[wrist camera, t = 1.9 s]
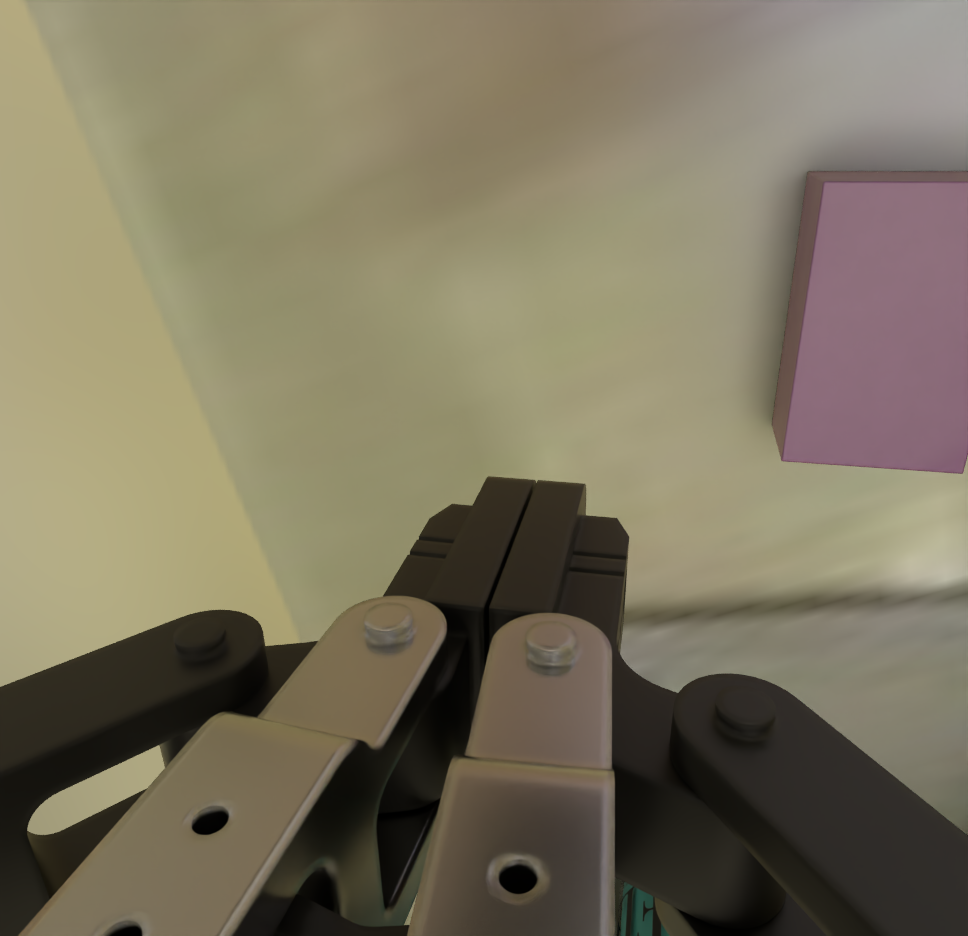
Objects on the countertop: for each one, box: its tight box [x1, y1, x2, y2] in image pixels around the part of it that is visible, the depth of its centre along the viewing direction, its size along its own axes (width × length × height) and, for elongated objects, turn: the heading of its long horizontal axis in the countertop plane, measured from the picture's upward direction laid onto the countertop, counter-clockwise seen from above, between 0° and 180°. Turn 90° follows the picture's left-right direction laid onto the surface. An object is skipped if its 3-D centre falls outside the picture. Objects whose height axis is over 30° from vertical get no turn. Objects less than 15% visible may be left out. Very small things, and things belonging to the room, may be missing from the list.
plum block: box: [772, 171, 968, 474], centre depth 23 cm, size 8×5×3 cm, turn 1°
